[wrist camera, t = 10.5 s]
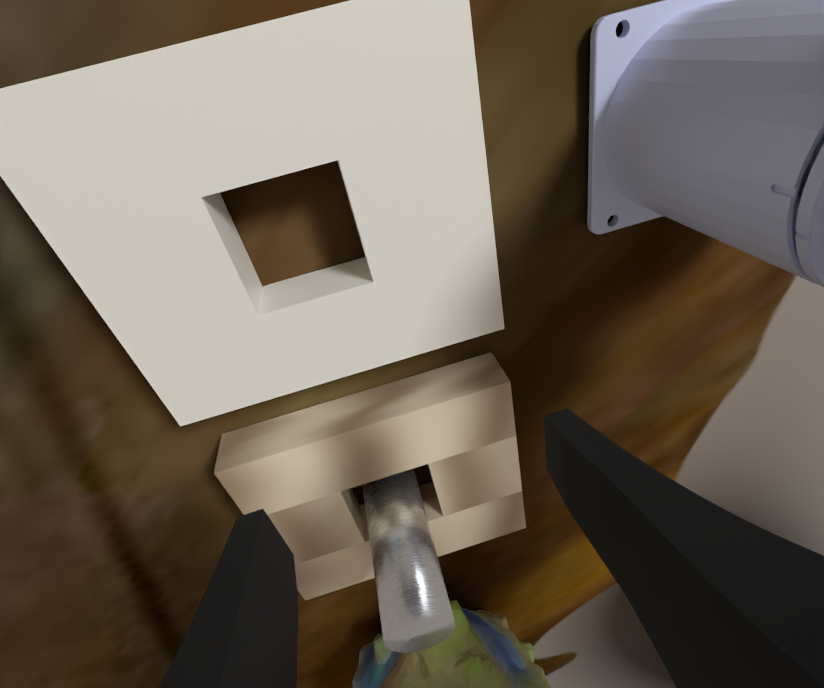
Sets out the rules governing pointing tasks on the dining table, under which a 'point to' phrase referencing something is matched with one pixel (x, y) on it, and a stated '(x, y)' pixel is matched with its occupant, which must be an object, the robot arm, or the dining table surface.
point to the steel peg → (406, 566)
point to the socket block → (256, 161)
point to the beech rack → (382, 467)
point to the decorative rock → (455, 658)
